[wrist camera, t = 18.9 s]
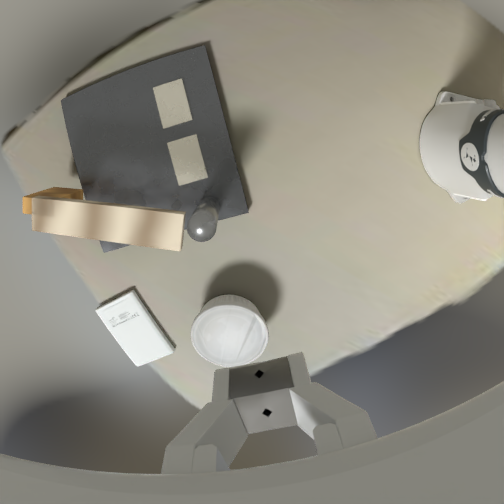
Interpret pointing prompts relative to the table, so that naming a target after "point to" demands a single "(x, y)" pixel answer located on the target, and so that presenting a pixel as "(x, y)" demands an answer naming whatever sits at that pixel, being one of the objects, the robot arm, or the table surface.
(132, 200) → the base plate
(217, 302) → the ramekin
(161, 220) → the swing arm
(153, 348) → the external hard drive
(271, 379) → the robot arm
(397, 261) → the table surface
